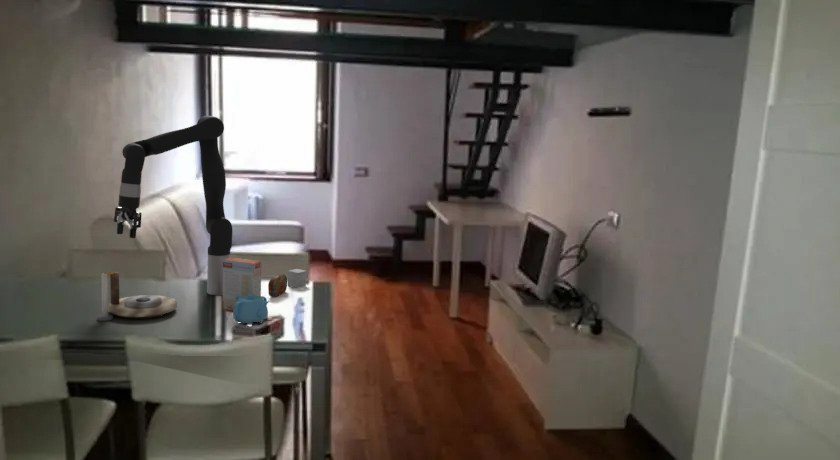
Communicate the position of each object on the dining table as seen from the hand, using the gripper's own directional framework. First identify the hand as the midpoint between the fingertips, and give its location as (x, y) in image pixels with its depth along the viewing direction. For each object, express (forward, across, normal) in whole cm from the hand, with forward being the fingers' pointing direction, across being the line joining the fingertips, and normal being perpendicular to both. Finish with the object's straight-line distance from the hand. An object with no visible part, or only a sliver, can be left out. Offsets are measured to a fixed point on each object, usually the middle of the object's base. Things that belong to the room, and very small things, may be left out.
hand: (126, 235), depth 251 cm
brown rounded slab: (+21, -33, -52) cm, 66 cm away
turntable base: (+26, -16, +1) cm, 31 cm away
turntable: (+25, -16, +1) cm, 30 cm away
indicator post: (+28, -15, +15) cm, 35 cm away
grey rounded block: (+20, -29, -69) cm, 77 cm away
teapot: (+24, -55, -18) cm, 63 cm away
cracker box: (+23, -42, -25) cm, 54 cm away
